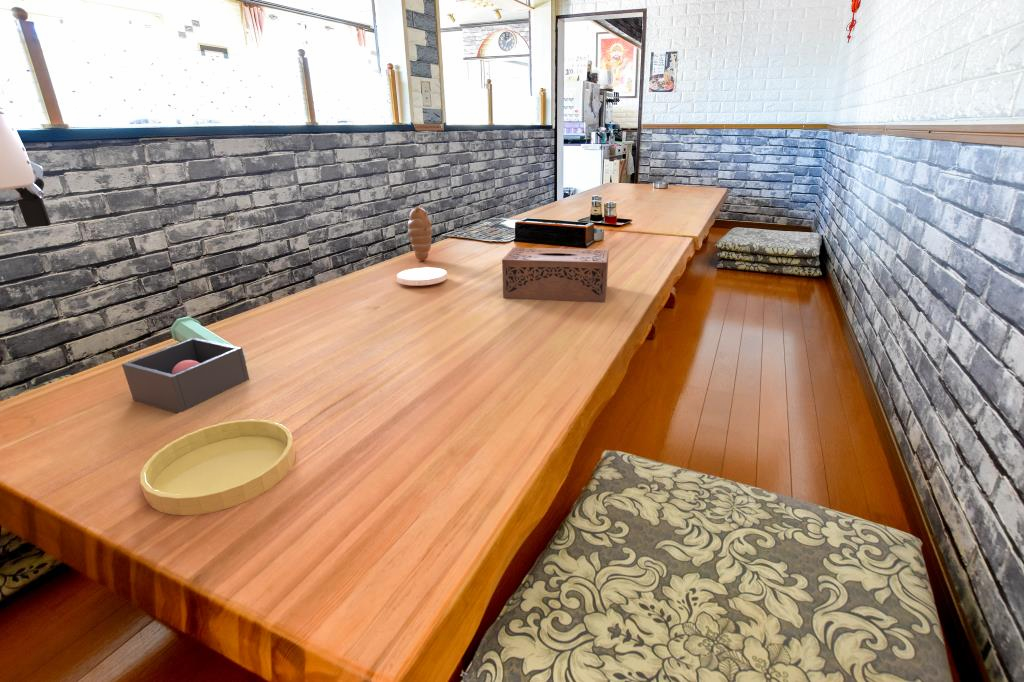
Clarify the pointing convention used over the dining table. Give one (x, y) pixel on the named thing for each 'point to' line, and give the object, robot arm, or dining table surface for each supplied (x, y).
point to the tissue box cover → (555, 274)
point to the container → (194, 331)
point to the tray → (217, 467)
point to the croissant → (420, 232)
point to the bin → (185, 374)
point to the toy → (184, 366)
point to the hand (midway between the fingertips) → (13, 231)
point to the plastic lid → (421, 276)
